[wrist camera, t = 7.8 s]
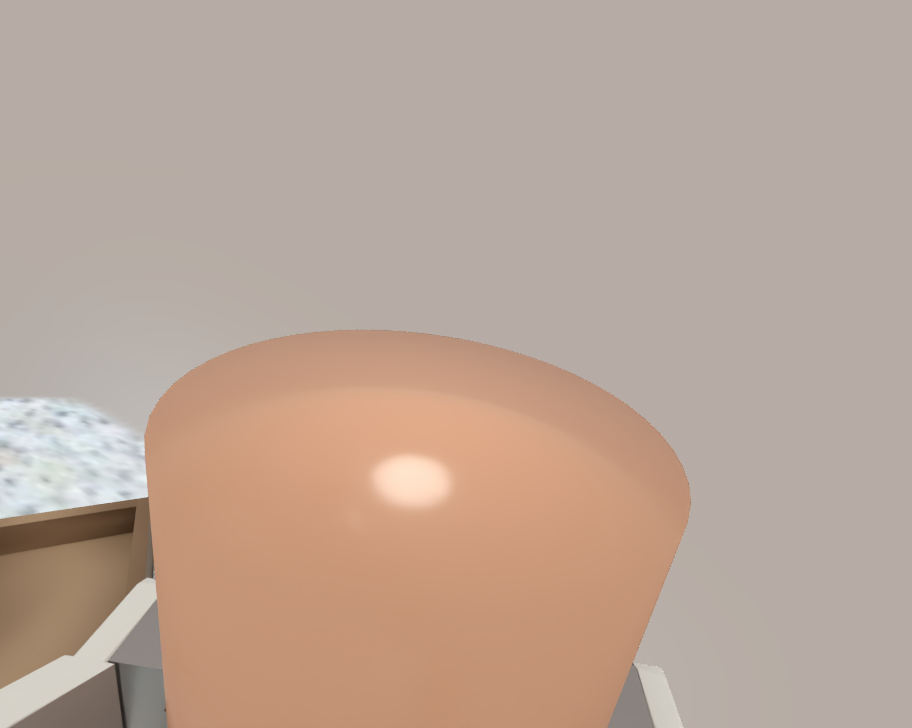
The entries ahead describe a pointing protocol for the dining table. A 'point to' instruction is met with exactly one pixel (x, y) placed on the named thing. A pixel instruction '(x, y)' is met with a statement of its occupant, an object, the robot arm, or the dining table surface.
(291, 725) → the peach cylinder
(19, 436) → the dining table surface
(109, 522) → the tray
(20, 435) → the dining table surface
